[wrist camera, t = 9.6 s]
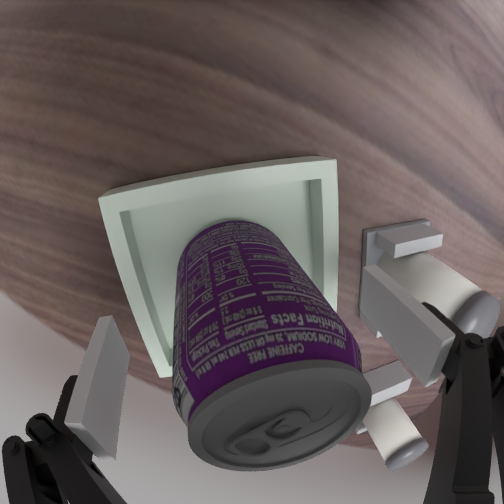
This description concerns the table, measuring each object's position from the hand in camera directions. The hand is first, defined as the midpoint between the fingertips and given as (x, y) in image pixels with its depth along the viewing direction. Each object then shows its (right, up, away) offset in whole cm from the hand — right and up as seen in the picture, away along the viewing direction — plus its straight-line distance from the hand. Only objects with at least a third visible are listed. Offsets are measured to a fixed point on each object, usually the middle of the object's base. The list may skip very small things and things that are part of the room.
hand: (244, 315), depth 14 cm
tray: (-1, +2, +5) cm, 6 cm away
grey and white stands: (+13, -5, +11) cm, 18 cm away
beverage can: (-1, +2, +5) cm, 5 cm away
